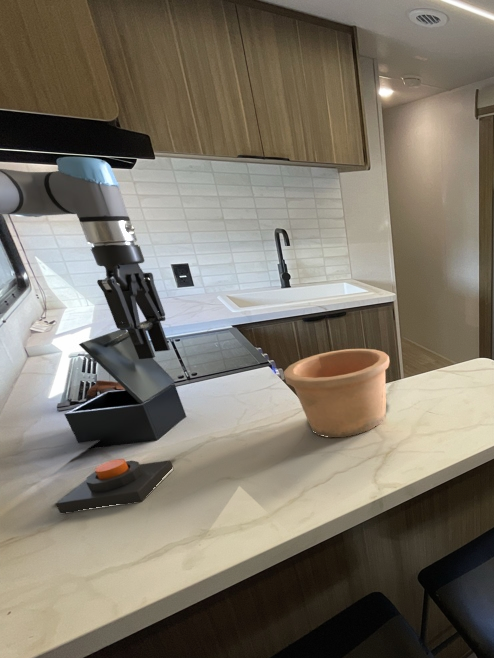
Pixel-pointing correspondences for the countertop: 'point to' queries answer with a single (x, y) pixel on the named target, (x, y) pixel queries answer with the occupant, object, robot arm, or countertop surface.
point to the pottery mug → (102, 389)
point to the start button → (111, 468)
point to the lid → (128, 364)
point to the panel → (115, 487)
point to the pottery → (341, 390)
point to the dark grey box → (125, 418)
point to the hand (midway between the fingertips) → (155, 354)
